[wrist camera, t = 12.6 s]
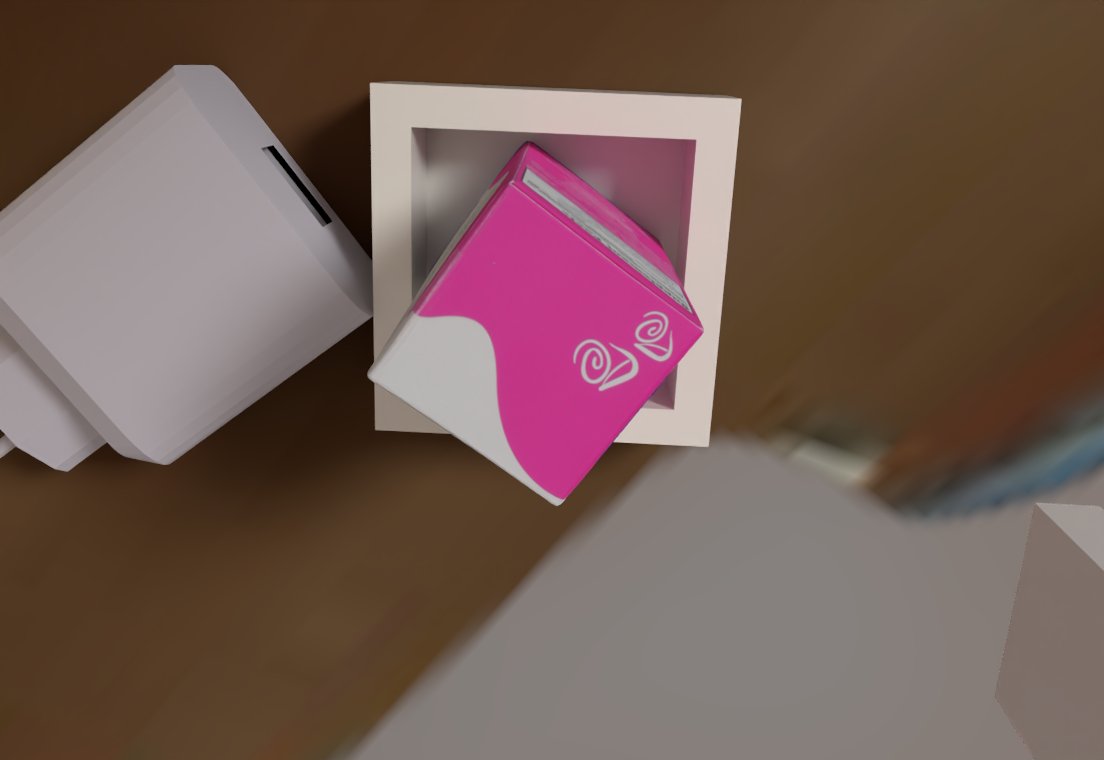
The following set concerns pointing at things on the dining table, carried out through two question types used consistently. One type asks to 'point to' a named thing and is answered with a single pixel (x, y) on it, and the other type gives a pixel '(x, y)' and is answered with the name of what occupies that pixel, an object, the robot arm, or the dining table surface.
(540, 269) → the supplement box
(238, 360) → the charger
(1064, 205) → the dining table surface
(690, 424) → the white shadow box frame
